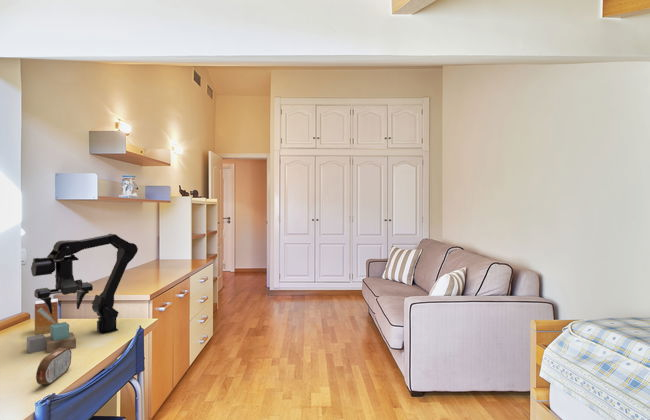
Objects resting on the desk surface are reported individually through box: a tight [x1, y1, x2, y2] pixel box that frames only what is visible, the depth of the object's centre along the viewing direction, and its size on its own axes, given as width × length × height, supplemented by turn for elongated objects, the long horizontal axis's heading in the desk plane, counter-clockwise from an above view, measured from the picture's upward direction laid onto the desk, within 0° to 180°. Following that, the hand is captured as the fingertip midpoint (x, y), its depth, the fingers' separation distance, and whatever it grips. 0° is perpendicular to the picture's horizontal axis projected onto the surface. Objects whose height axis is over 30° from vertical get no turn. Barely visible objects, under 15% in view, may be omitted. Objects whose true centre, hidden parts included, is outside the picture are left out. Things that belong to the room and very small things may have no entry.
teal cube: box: [49, 321, 70, 341], centre depth 151 cm, size 5×5×5 cm
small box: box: [34, 297, 59, 335], centre depth 169 cm, size 8×6×13 cm
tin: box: [35, 348, 72, 386], centre depth 126 cm, size 15×3×8 cm, turn 5°
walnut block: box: [45, 331, 77, 355], centre depth 151 cm, size 9×9×4 cm
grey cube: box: [26, 333, 47, 355], centre depth 148 cm, size 5×5×5 cm
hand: (64, 311), depth 157 cm, fingers open, 9 cm apart
